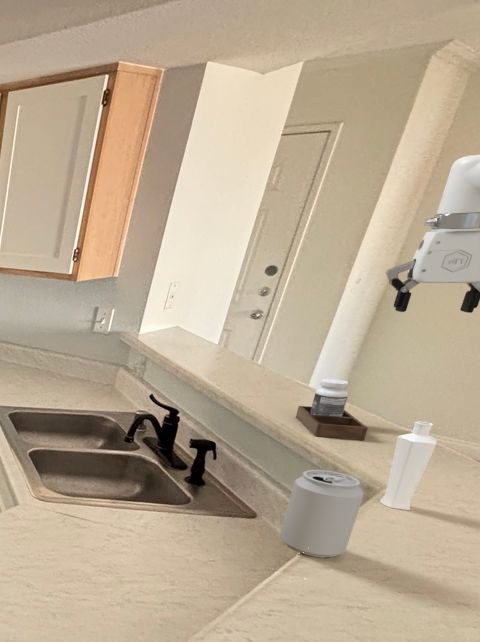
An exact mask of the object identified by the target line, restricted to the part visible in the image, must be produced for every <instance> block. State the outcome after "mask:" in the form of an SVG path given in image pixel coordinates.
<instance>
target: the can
mask: <svg viewBox="0 0 480 642" xmlns="http://www.w3.org/2000/svg"><path fill="white" fill-rule="evenodd" d="M361 484H362V483H361V481H360V480H359V479H357V478H356V477H355V476H352V475H350V474H349V475H348V474H346V473H342V472H339V471H338V472H337V471H332V470H325V469H309V470H305V471H303V472H302V476H300V477H298V478H296V479H295V480H294V483H293V485H292V489H291V492H290V493H291V494H290V497H289V501H288V505H287V508H286V511H285V515H284V518H283V522H282V526H281V530H280V533H279V538H280V540H281V541H282V542H283V543H284V544H285V546H287V548H288V549H291V550H293V551H294V552H296V553H299V554H302V553H303V552H304V553H303V555H306V556H309V557H310V556H311V557H314V558H322V559H324V557H330V558H333V557H336V556H339V555H343V554H344V553H345V552H346V550H347V547H348V544H349V542H350V538H351V534H352V533H353V530H354V527H355V526H354V525H355V523H356V521H357V520H356V519H357V516H358V514H359V510H360V507H361V504H362V501H363V498H364V495H365V492H364V491H363V489H362V488H361V487H360V486H361ZM308 548H309V549H308Z"/></svg>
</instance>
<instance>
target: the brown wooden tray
mask: <svg viewBox="0 0 480 642" xmlns="http://www.w3.org/2000/svg"><path fill="white" fill-rule="evenodd" d="M311 407H312V406H310V405H309V406H308V405H298V407H297V410H296V414H295V418H296V419H297V420H298V421H299V422H300V423H301V424H302V425H303V426H304V427H305V428H306V429H307V430H308V431H309V432H310V433H311V434H312V435H313V436H314V437H319V438H330V439H341V440H352V441H353V440H354V441H365V438H366V435H367V432H368V430H369V427H367V426H366V425H365V424H364V423H362V421H360V420H358V419H357V418H356V417H355V416H353V415H352V414H351V413H349V412H348V411H347V410H345V409H344V411H343V415H342V417H340V416H326V415H313V414H310V411H311Z"/></svg>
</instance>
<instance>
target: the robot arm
mask: <svg viewBox="0 0 480 642" xmlns="http://www.w3.org/2000/svg"><path fill="white" fill-rule="evenodd" d="M423 226H425V227H426V226H427V227H430V229H431V231H426V232H425V234H424V235H423V237H422V239H421V241H420V243H419V245H418V246H417V248H416V250H415V252H414V255H413V257H412V260H410V261H408V262H405V263H403V264H400V265H398V266H397V265H396V266H394V267H391V268H389V269H387V270H385V274H386V278H387V279H388V283H389V284H390V285H391V287H393V288H394V289H395V291H397V293H396V296H395V299H394V303H393V308H394V310H395V311H396V312H400V313H405V312H406V311H407V309H408V307H409V303H410V299H411V297H412V292H410V291H411V290H412V289H413V288H415V287H416V286H417V285H419V284H466V285H467V286H468V287H469V288H470V290H467V291H466V292H465V295H464V297H463V300H462V302H461V306H460V311H461V312H464V313H467V314H468V313H469V314H472V313H473V312H474V309H477V308H478V306H479V303H480V154H471V155H466V156H462V157H460V158H458V159H456V160H455V161H454V162H453V163H452V165H451V168H450V171H449V173H448V177H447V179H446V183H445V187H444V189H443V193H442V196H441V199H440V202H439V205H438V208H437V211H436V214H434V216H433V217H431V218H425V220H424V221H423ZM406 271H407V274H406V279H405V280H404V281H402V280H401V279H400V277H399V274H400V273H403V272H406Z"/></svg>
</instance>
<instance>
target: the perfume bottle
mask: <svg viewBox="0 0 480 642" xmlns="http://www.w3.org/2000/svg"><path fill="white" fill-rule="evenodd" d="M413 423H414V426H413V429H412V431H411V433H406V434H401V435H397V439H396V444H395V448H394V454H393V457H392V462H391V466H390V470H389V476H388V480H387V484H386V490H385V493H384V495H383V497H381V499H380V500H379V503H380V504H382V505H384V506H386V507H387V508H390V509H395V510H397V509H398V510H405V511H406V510H407V511H410V510H411V500H412V498H413V496H414V494H415V491H416V489H417V487H418V486H419V483H420V481H421V478H422V476H423V475H424V472H425V470H426V467H427V465H428V463H429V461H430V459H431V457H432V454H433V453H434V451H435V449H436V446H437V444H438V440H437V438H435V437H433V436H431V435H429V434H430V431H431V428H432V426H434V423H432V422H428V421H423V420H422V421H421V420H420V421H413Z"/></svg>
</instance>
